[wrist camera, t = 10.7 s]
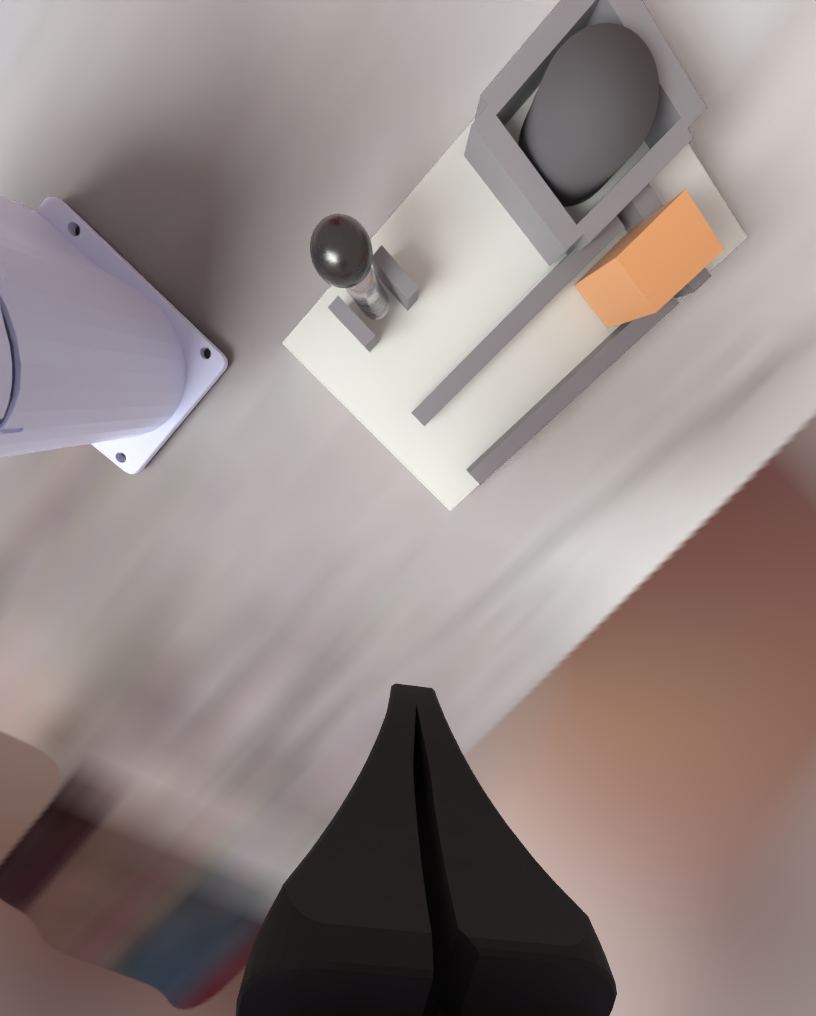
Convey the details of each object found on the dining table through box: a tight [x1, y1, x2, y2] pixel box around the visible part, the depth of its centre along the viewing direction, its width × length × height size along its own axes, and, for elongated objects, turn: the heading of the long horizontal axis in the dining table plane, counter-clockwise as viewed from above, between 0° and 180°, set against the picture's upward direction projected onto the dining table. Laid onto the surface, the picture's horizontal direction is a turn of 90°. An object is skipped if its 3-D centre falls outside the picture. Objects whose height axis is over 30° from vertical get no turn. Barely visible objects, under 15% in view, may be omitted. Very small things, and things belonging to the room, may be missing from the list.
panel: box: [282, 0, 747, 511], centre depth 16 cm, size 11×17×4 cm, turn 135°
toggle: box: [310, 214, 390, 320], centre depth 14 cm, size 2×2×5 cm
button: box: [518, 23, 659, 207], centre depth 14 cm, size 4×4×2 cm
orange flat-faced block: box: [575, 190, 724, 328], centre depth 15 cm, size 2×3×3 cm
